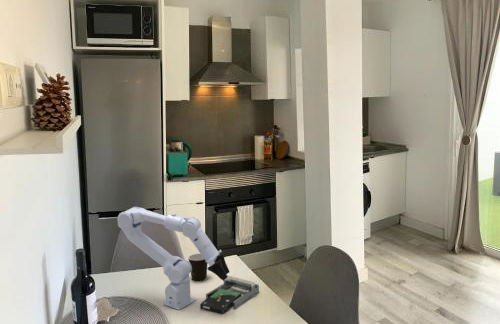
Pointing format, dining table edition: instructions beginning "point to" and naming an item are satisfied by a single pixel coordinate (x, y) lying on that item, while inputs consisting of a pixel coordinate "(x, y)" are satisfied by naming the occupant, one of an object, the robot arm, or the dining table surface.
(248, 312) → the dining table surface
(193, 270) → the coffee mug
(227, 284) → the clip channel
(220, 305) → the disk drive
